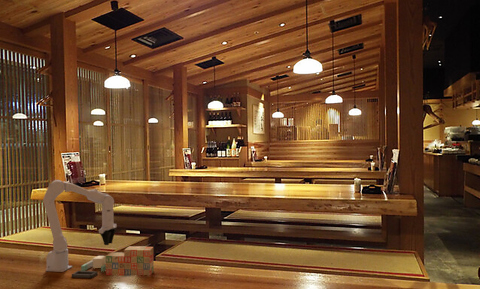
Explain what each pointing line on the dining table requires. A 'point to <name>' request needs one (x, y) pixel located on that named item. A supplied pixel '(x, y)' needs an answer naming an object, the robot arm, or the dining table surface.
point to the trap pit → (84, 274)
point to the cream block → (99, 261)
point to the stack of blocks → (131, 262)
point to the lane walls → (90, 264)
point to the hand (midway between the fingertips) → (108, 244)
